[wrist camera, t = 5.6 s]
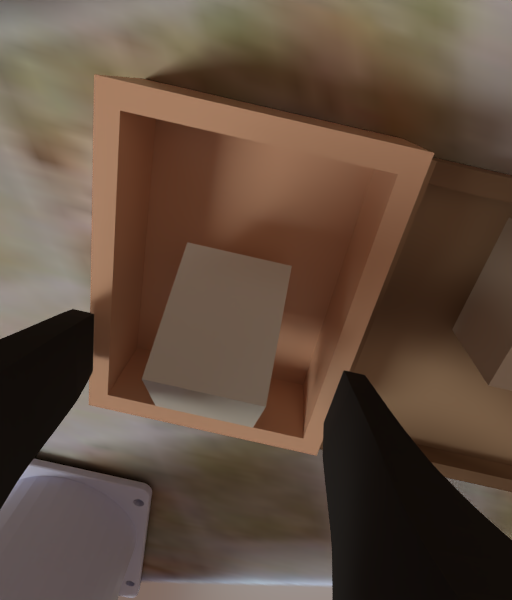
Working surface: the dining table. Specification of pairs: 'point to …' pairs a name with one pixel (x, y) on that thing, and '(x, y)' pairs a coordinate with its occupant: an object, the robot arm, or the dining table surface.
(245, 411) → the stone grey
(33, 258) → the dining table surface
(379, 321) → the tray
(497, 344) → the stone beige
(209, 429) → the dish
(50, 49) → the dining table surface
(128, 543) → the robot arm
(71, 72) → the dining table surface
